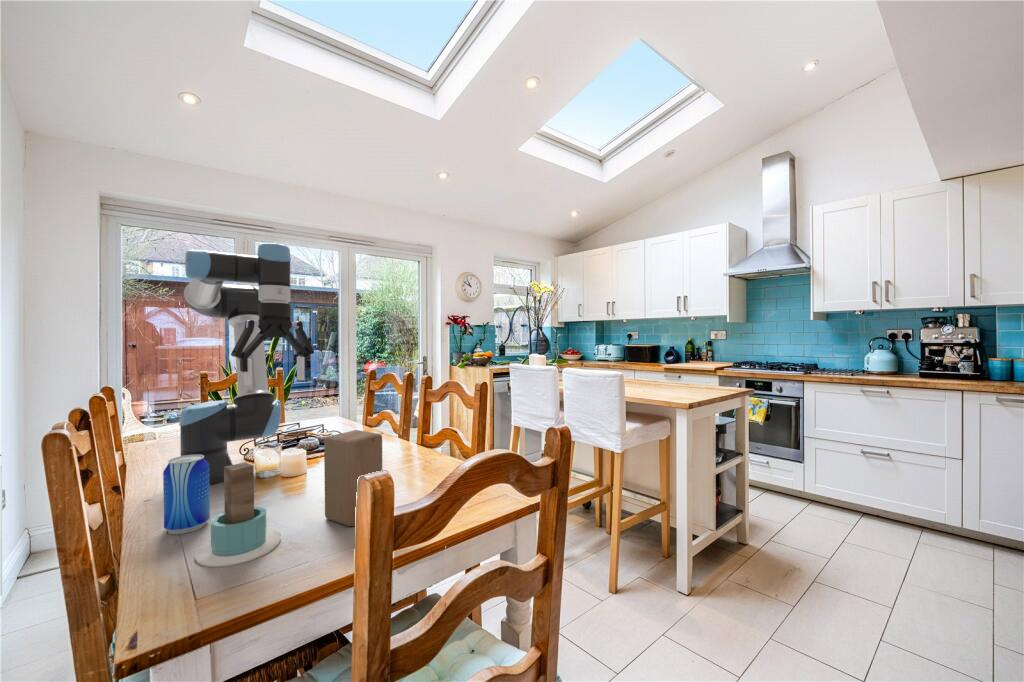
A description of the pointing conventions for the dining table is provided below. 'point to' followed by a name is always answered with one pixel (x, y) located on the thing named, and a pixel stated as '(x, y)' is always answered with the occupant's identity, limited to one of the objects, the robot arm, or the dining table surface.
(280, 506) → the dining table surface
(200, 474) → the beer can
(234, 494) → the tall brown block
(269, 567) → the dining table surface
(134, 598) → the dining table surface
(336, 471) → the wooden block
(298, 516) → the dining table surface
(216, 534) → the teal cup on saucer
